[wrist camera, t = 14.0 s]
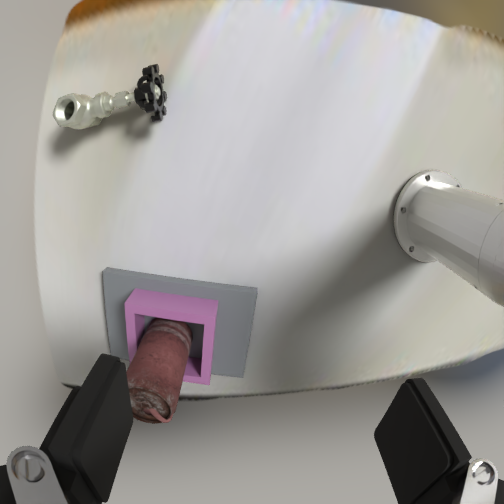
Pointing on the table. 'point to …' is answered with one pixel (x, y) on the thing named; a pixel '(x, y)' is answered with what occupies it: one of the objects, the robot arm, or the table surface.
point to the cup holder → (182, 318)
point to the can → (159, 370)
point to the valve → (112, 102)
